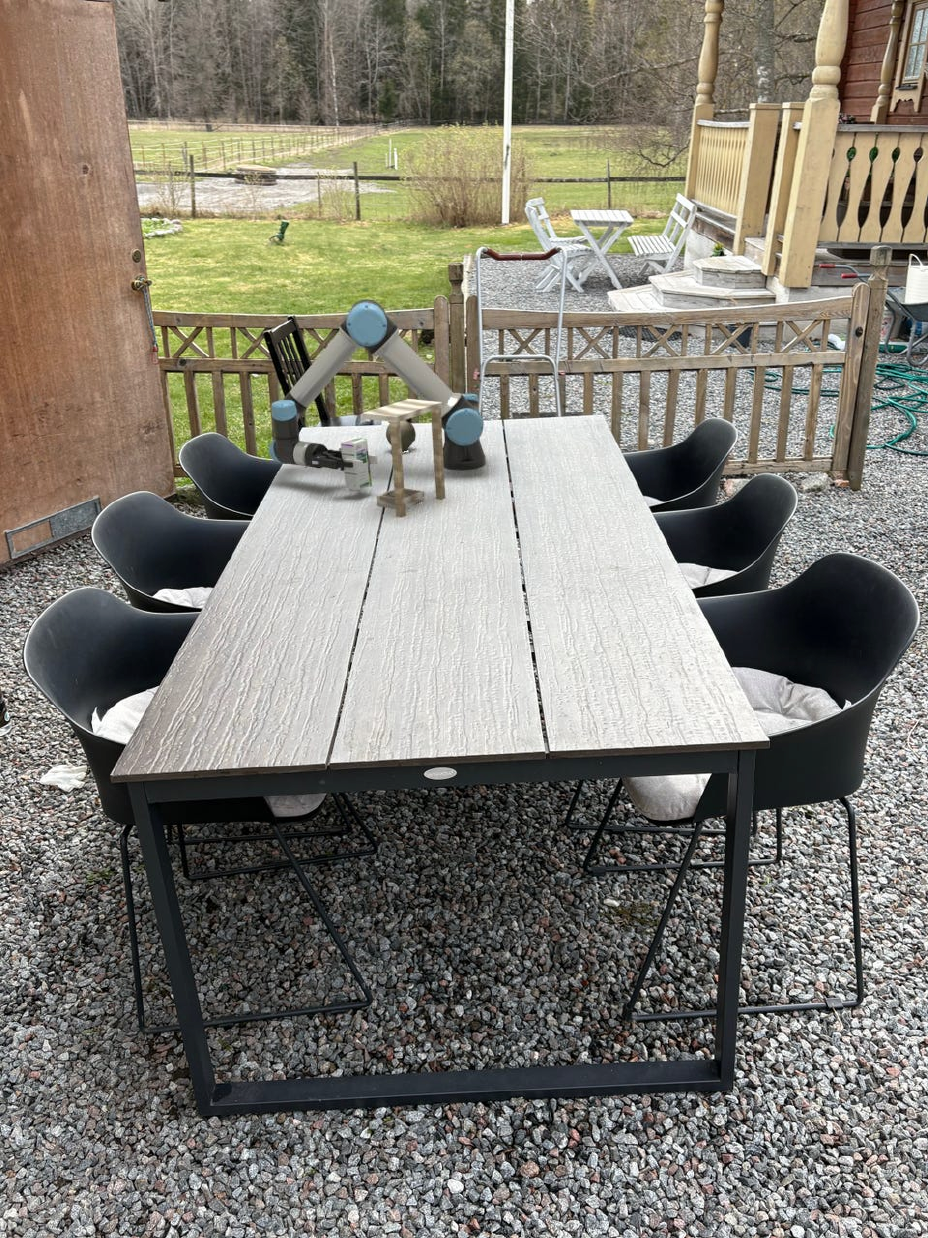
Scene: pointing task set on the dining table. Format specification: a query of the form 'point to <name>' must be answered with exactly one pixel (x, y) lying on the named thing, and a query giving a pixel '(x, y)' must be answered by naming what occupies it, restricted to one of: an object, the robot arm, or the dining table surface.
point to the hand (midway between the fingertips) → (369, 462)
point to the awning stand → (394, 414)
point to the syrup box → (356, 451)
